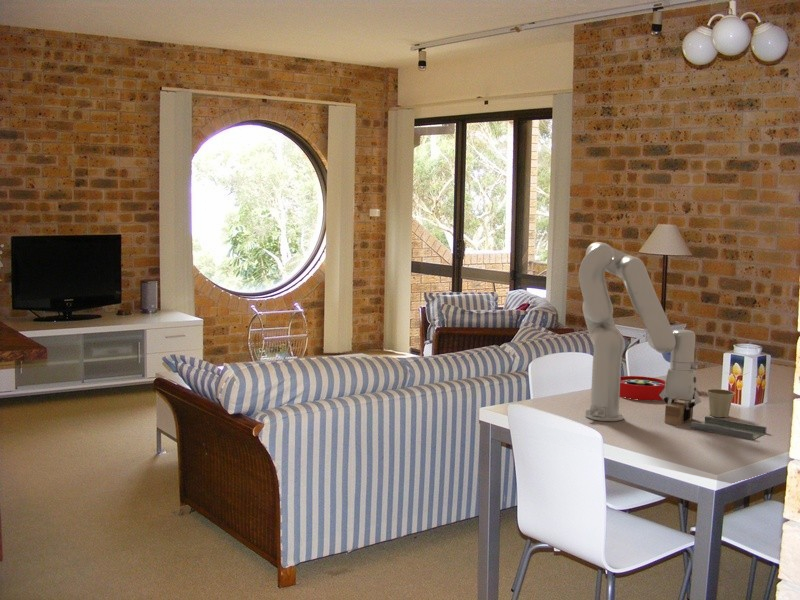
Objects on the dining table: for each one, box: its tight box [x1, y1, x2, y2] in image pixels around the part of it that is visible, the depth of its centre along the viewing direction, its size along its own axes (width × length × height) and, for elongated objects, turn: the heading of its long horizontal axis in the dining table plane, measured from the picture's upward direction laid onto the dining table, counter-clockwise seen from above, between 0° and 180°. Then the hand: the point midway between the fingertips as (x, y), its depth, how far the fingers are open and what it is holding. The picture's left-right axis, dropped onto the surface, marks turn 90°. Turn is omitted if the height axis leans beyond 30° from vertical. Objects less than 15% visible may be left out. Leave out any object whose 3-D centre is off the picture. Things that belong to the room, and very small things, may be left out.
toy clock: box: [620, 375, 666, 401], centre depth 340 cm, size 20×6×20 cm
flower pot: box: [706, 388, 736, 418], centre depth 308 cm, size 9×9×9 cm
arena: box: [690, 415, 767, 441], centre depth 287 cm, size 12×20×2 cm, turn 49°
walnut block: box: [664, 400, 694, 426], centre depth 299 cm, size 13×4×6 cm, turn 140°
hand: (678, 418), depth 299 cm, fingers closed on walnut block, 4 cm apart
